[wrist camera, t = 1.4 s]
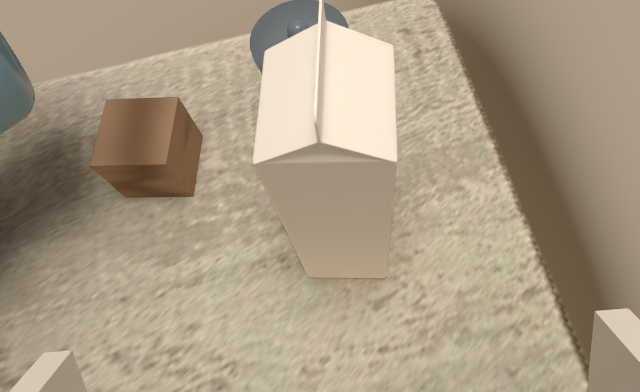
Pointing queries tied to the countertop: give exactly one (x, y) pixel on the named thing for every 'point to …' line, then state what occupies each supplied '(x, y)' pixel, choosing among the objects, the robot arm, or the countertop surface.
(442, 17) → the countertop surface
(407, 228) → the countertop surface
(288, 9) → the slate jar
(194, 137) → the walnut block
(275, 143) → the milk
